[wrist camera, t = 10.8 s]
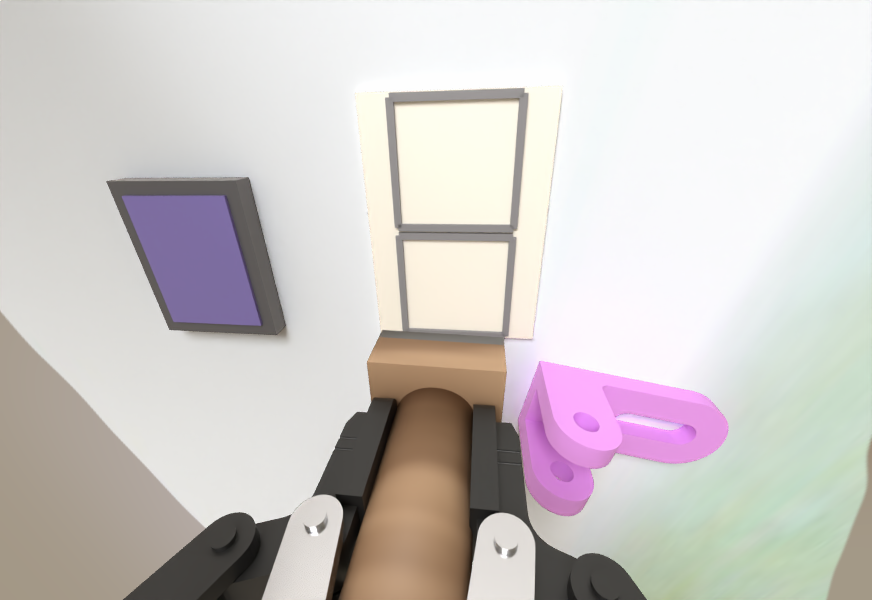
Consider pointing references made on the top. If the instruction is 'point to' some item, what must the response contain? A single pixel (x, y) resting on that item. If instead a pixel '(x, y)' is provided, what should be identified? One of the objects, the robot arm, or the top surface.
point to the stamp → (424, 465)
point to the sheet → (458, 205)
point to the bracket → (604, 430)
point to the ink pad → (202, 252)
